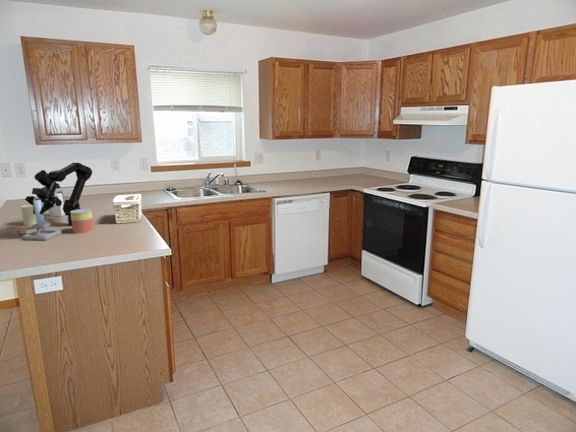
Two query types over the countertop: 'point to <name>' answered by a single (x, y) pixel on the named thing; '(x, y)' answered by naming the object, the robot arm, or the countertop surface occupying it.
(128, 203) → the storage basket
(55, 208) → the skincare box
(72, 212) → the canned food
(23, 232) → the slot
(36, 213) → the tall blue pillar
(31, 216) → the can
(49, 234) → the tray
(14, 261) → the countertop surface
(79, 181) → the robot arm
